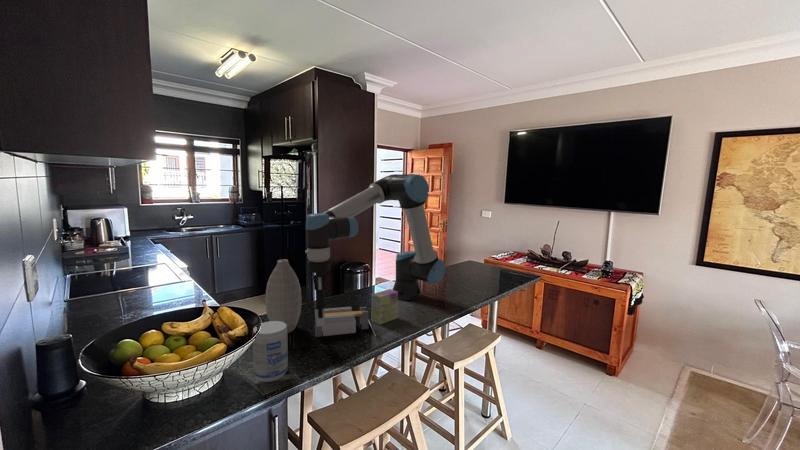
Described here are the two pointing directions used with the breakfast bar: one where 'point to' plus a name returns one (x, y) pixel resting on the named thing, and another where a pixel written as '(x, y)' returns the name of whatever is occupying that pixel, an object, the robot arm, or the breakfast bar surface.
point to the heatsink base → (343, 321)
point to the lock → (317, 329)
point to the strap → (356, 313)
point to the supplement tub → (270, 351)
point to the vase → (283, 295)
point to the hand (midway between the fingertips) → (320, 325)
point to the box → (384, 306)
